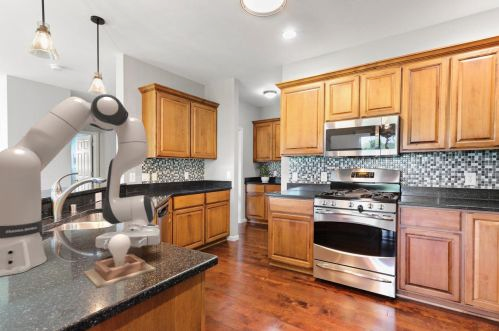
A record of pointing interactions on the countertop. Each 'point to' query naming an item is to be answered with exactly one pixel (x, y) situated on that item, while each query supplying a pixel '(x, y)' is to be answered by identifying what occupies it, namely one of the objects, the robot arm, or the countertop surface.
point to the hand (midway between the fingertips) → (122, 245)
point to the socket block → (117, 270)
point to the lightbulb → (119, 248)
